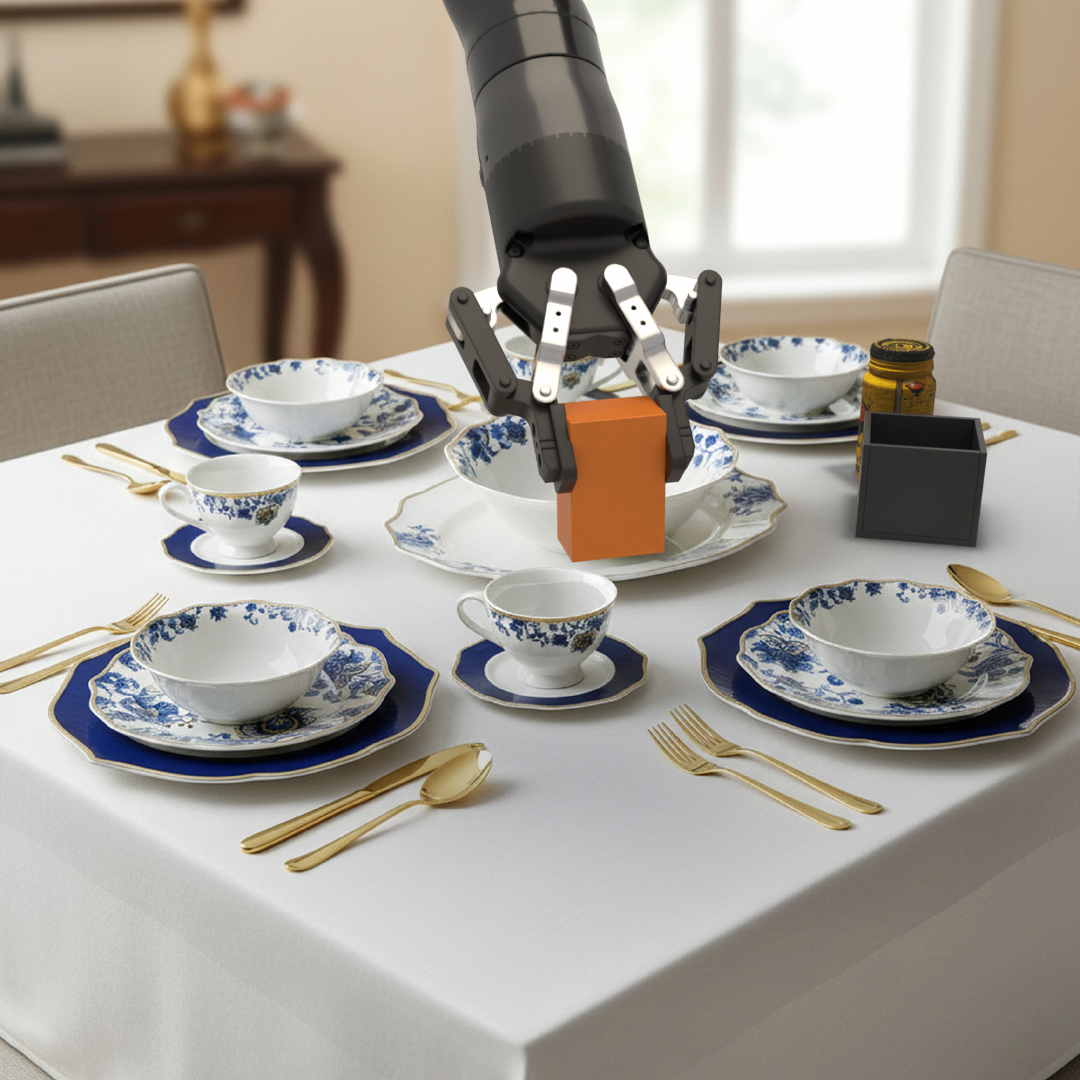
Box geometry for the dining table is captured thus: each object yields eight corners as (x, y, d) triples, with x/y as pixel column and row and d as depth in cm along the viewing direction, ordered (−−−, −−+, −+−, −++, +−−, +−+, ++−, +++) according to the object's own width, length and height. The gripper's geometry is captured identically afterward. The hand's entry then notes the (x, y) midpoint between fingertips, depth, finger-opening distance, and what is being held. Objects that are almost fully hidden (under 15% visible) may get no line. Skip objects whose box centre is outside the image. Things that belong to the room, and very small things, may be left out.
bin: (969, 509, 120) (980, 418, 117) (975, 550, 111) (987, 453, 108) (856, 500, 121) (865, 410, 118) (854, 540, 113) (863, 444, 110)
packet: (557, 538, 72) (554, 403, 69) (646, 529, 73) (648, 394, 70) (571, 563, 69) (570, 423, 66) (664, 552, 70) (667, 413, 67)
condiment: (835, 472, 128) (846, 337, 123) (919, 462, 130) (932, 330, 126) (879, 499, 122) (892, 359, 117) (966, 488, 124) (983, 350, 120)
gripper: (422, 134, 69) (479, 461, 63) (711, 120, 72) (792, 431, 66) (411, 226, 76) (462, 529, 70) (675, 209, 79) (746, 499, 73)
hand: (621, 479), depth 68 cm, fingers closed on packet, 4 cm apart
